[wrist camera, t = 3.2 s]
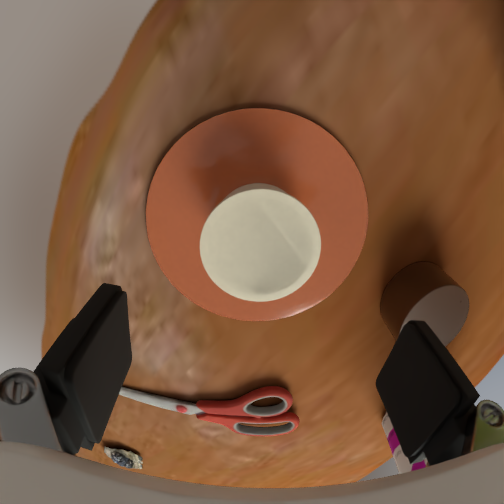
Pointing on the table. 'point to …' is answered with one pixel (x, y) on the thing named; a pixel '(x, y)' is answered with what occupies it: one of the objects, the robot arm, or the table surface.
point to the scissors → (232, 410)
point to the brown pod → (425, 301)
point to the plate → (248, 172)
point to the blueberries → (124, 458)
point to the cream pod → (260, 243)
